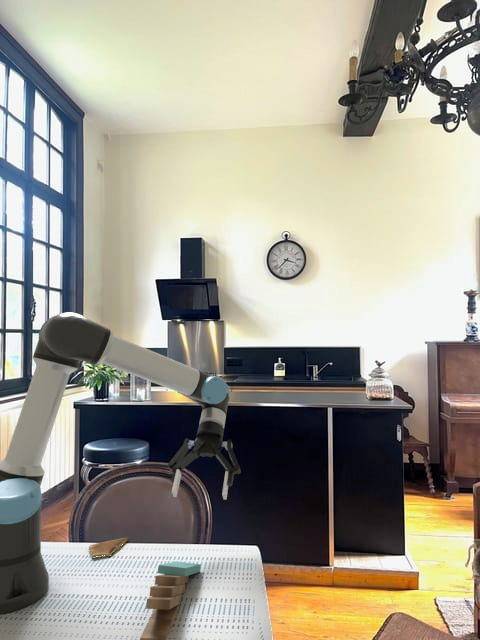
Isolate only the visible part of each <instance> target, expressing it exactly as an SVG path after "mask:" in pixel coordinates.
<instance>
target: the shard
mask: <svg viewBox="0 0 480 640" xmlns="http://www.w3.org/2000/svg"><path fill="white" fill-rule="evenodd" d="M128 539H129V536H126V537H122V538H117V539H110V540H106V541H101V542H97V543H94V544H90V545H89V546H88V548H89V549H88V548H87V549H88V551H89V550H90V552H89V554H90V556H91V555H92V557H91V559H94V558H93V557H96V556H102V555H103V556H104V555H105V556H110V555H111V554H112V553H113V552H114V553H115V552H116V551H117V550H116V549H117V548H119V547H120V546H121V545H122V544H124V545H125V544H126V543H127V540H128ZM120 548H121V547H120ZM120 548H119V549H120ZM115 550H116V551H115ZM112 555H113V554H112ZM112 555H111V556H112ZM96 558H97V557H96Z"/></svg>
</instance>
